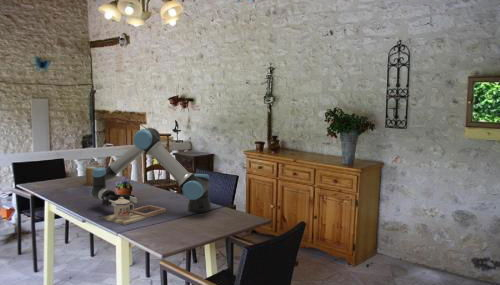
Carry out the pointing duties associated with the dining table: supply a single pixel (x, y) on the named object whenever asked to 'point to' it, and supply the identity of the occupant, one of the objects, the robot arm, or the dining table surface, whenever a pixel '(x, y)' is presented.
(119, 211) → the teacup with lid
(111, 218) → the ash board
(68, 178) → the dining table surface
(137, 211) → the wooden picture frame
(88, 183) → the milk carton
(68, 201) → the dining table surface
